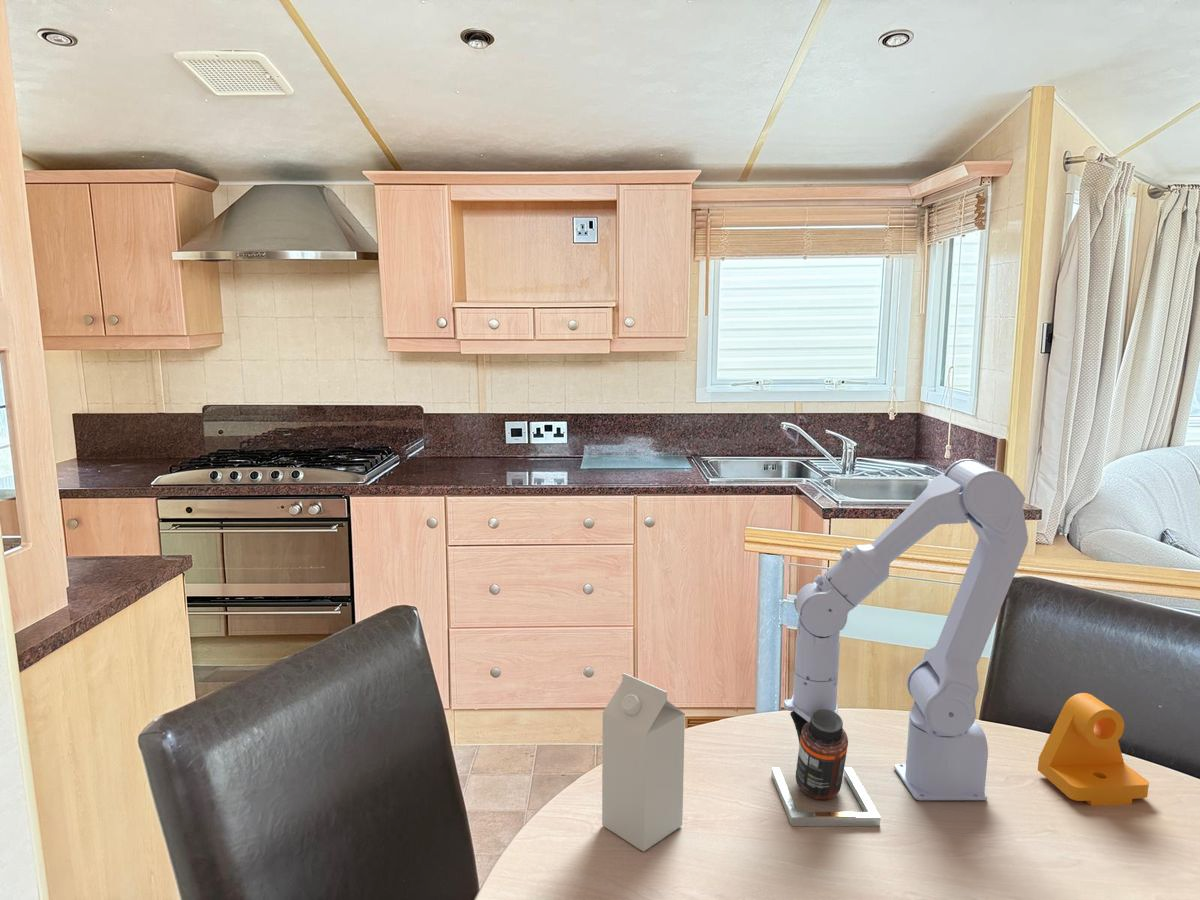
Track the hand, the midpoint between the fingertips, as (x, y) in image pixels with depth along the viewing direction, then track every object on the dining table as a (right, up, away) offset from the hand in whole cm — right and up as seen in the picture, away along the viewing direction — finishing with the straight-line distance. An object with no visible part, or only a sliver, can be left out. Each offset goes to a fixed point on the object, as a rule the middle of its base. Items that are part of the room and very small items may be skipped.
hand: (810, 765), depth 108 cm
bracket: (+37, -2, -2) cm, 37 cm away
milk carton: (-24, -3, -11) cm, 26 cm away
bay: (0, -2, -5) cm, 5 cm away
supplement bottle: (0, -1, -3) cm, 3 cm away
